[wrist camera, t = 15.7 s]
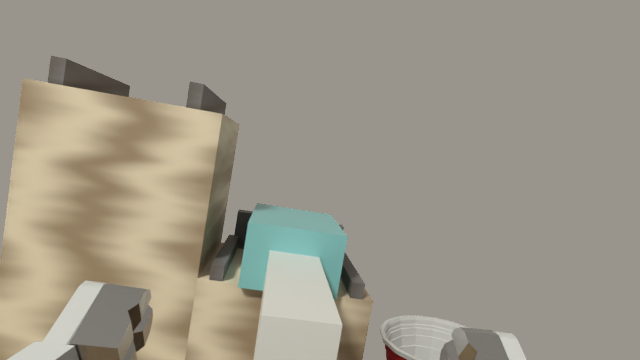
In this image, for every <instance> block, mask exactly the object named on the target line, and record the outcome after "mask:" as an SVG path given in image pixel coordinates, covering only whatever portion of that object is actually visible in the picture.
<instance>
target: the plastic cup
mask: <svg viewBox="0 0 640 360" xmlns="http://www.w3.org/2000/svg"><path fill="white" fill-rule="evenodd" d="M458 327H464V328H469V327H466V326H463V325H461V324H458V323H455V322H452V321H447V320H444V319H439V318H435V317H427V316H417V315H410V316H397V317H394V318H392V319H389V320H386V321H385V322H384V323H383V325H382V326H381V327H380V332H381V335H382V338H383V342H384V343H385V348H386V358H387V360H440V353H441V349H442V348H443V346H444V344H445V343H447V342H449V341H451V340H453V338H452V335H451V334H452V332H453V331H454V330H455V329H456V328H458Z"/></svg>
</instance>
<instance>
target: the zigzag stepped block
mask: <svg viewBox="0 0 640 360" xmlns="http://www.w3.org/2000/svg"><path fill="white" fill-rule="evenodd" d="M129 89H130V86H129V85H126V84H124V83H122V82H119V81H117V80H115V79H112V78H110V77H108V76H105V75H103V74H101V73H98V72H96V71H93V70H91V69H89V68H87V67H84V66H82V65H80V64H77V63H75V62H73V61H70V60H68V59H65V58H59V57H54V56H51V61H50V69H49V77H48V83H46V82H41V81H35V80H29V79H23V83H22V91H21V98H20V106H19V107H20V108H19V115H18V123H17V131H16V139H15V148H14V156H13V164H12V172H11V180H10V189H9V197H8V205H7V213H6V221H5V230H4V238H3V246H2V254H1V262H0V360H7V359H9V358H10V357H12V356H13V355H15V354H16V353H18V352H19V351H21V350H23V349H24V348H26V347H27V346H29V345H30V344H32V343H33V342H35V341H40V342H42V341H43V340H44V338H45V337H46V335H47V334H48V332H49V331H50V329H51V328H52V326H53V325H54V323H55V322H56V320H57V319H58V317H59V316H60V314H61V313H62V311H63V310H64V308H65V306H66V305H67V303H68V302H69V300H70V299H71V297H72V296H73V294H74V293H75V291H76V290H77V288H78V287H79V286H80V285H81V284H82V283H83V282H84V281H94V282H102V283H109V284H116V285H123V286H130V287H137V288H144V289H150V292H151V300H150V302H149V304H148V305H149V306H150V307H151V308H152V309H153V320H152V325H151V329H150V333H149V336H148V339H147V341H146V344H145V346H144V347H143V348H141V349H140V350H139V351H137V352H136V356H137V360H253V359H254V352H255V345H256V337H257V330H258V323H259V316H260V309H261V301H262V294H263V291H260V290H253V289H245V288H238V283H239V277H240V271H241V264H242V258H243V252H244V246H245V239H246V233H247V227H248V221H249V219H250V217H251V215H252V213H253V212H251V211H245V210H239V211H238V216H237V223H236V228H235V235H229V236H228V238H227V240H226V241H225V243H221V238H222V232H223V225H224V219H225V212H226V206H227V199H228V193H229V187H230V181H231V174H232V168H233V161H234V155H235V148H236V142H237V136H238V129H239V124H238V123H236V122H235V121H233V120H231V119H230V118H228V117H227V116H225V115H224V114H225V108H226V103H225V102H224V101H222V100H221V99H220V98H219V97H218V96H217V95H216V94H214V93H213V92H212V91H211V90H210V89H209V88H208V87H206V86H205V85H204V84H199V83H194V82H190V85H189V91H188V99H187V106H186V107H181V106H175V105H170V104H164V103H158V102H153V101H147V100H142V99H136V98H130V97H128V96H129ZM339 226H340V227H341V229H342V230H343V226H342V225H339ZM334 302H335V304H336V307H337V310H338V313H339V316H340V319H341V322H342V325H343V326H342V331H341V337H340V343H339V348H338V354H337V360H362V358H363V352H364V346H365V341H366V336H367V330H368V325H369V319H370V314H371V308H372V303H373V300H372V299H371V297H370V295H369V294H368V292H367V291H366V289H365V284H364V282H363V280H362V279H361V277H360V276H359V274H358V273H357V271H356V269H355V268H354V266H353V265H352V263H351V261H350V260H349V258H348V257H347V255H346V253H345V254H344V259H343V265H342V271H341V276H340V282H339V288H338V293H337V299H336V300H334Z"/></svg>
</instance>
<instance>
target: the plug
mask: <svg viewBox="0 0 640 360" xmlns="http://www.w3.org/2000/svg"><path fill="white" fill-rule="evenodd" d="M346 242H347V235H346V234H345V233H344V231H343V230H342V229H341V227H340V226H339V225H338V223H337V222H336V221H335V220H334V218H333V217H332V216H331V215H330V214H324V213H317V212H310V211H304V210H298V209H291V208H285V207H278V206H272V205H265V204H259V203H257V205H256V207H255V209H254V211H253V213H252V215H251V217H250V219H249V221H248V227H247V233H246V239H245V246H244V252H243V258H242V264H241V271H240V277H239V283H238V288H245V289H253V290H260V291H263V294H262V301H261V309H260V316H259V323H258V330H257V337H256V345H255V352H254V359H253V360H337V354H338V348H339V343H340V337H341V331H342V326H343V325H342V322H341V319H340V316H339V313H338V310H337V307H336V304H335V302H334V300H336V299H337V293H338V288H339V282H340V276H341V271H342V265H343V259H344V254H345V248H346Z"/></svg>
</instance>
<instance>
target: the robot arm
mask: <svg viewBox="0 0 640 360" xmlns="http://www.w3.org/2000/svg"><path fill="white" fill-rule="evenodd" d="M150 300H151V292H150V289H144V288H137V287H130V286H123V285H116V284H109V283H102V282H94V281H84V282H83V283H82V284H81V285H80V286H79V287H78V288H77V290H76V291H75V293H74V294H73V296H72V297H71V299H70V300H69V302H68V303H67V305H66V306H65V308H64V310H63V311H62V313H61V314H60V316H59V317H58V319H57V320H56V322H55V323H54V325H53V326H52V328H51V329H50V331H49V332H48V334H47V335H46V337H45V338H44V340H43V341H42V342H40V341H35V342H33V343H32V344H30V345H29V346H27V347H26V348H24V349H23V350H21V351H19V352H18V353H16V354H15V355H13V356H12V357H10V358H9V359H7V360H137V356H136V352H137V351H139V350H140V349H141V348H143V347H144V346H145V344H146V341H147V339H148V336H149V333H150V329H151V325H152V320H153V309H152V308H151V307H150V306H149V305H148V304H149V302H150ZM451 335H452V338H453V340H451V341H449V342H447V343H445V344H444V346H443V348H442V349H441V353H440V360H526V358H525V355H524V353H523V351H522V349H521V347H520V345H519V342H518V340H517V339H516V337H515V336H514V335H513V334H511V333H504V332H495V331H491V330H482V329H473V328H464V327H458V328H456V329H455V330H454V331H453V332H452V334H451Z"/></svg>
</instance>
